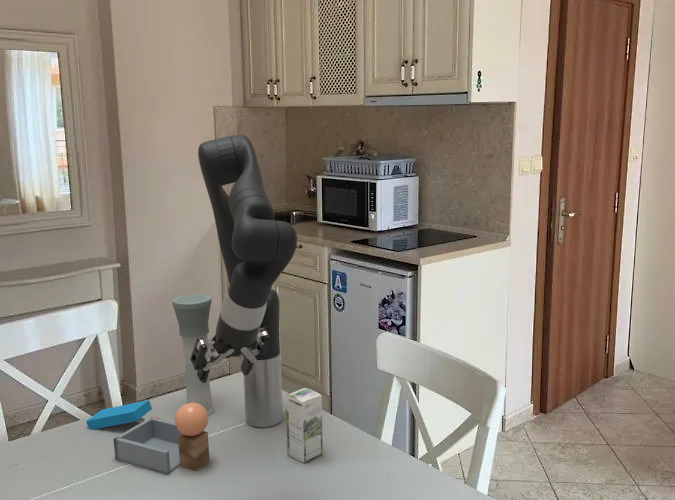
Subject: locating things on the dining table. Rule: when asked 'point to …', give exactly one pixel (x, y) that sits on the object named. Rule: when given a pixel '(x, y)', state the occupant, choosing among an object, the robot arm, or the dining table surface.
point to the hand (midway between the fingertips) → (223, 375)
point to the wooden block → (194, 450)
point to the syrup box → (304, 424)
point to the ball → (191, 419)
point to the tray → (150, 445)
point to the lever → (120, 415)
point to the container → (192, 326)
